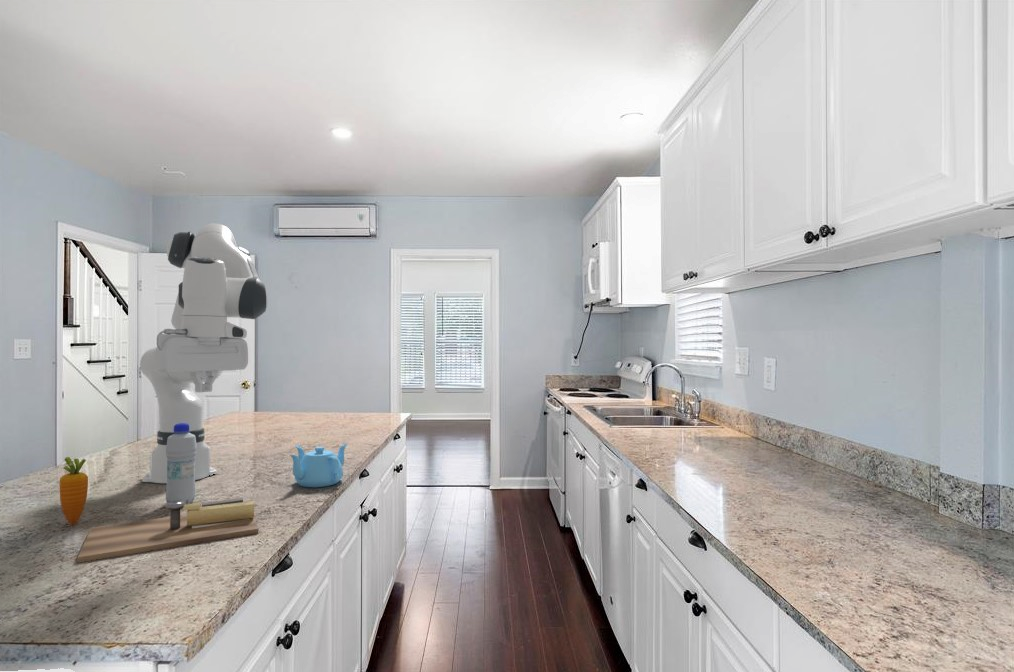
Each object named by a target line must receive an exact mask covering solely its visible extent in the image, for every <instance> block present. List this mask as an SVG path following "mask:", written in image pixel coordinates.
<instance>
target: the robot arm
mask: <svg viewBox="0 0 1014 672" xmlns="http://www.w3.org/2000/svg"><path fill="white" fill-rule="evenodd" d="M166 256H167V260H168V262H169V263H170V264H171V265H173V266H174V267H177V268H179V269H184V270H183V275H182V276H183V278H182V281H181V282H180V283H178V293H177V296H176V299H175V303H174V304H175V305H174V309H173V312H172V315H171V320H170V321H171V326H173V328H174V329H173V328H164V329H163V330H162V331H160V332H159V333H158V334H157V336H156V347H153V348H149V349H148V350H146V351H145V352H144V353H143V354H142V356H141V357H140V362H139V365H140V366H139V367H140V371H141V372H142V374H143V375H144V376H145V377H146V378H147V379H148V380H149V381H150V383H151V385H152V387H153V390H154V393H155V395H156V399H157V403H158V417H159V418H158V420H159V421H158V422H159V423H158V427H159V428H158V431H157V432H156V443H157V446H156V447H155V448H154V449H153V450H152V451H151V452H150V455H149V456H150V457H149V459H150V460H149V461H150V465H149V472H148V473H146V475H144V476H143V477H142V478H141V482H142V483H153V484H154V483H155V484H167V457H166V445H167V439H168V437H169V436H171V435H173V434H175V433H174V426H175V425H176V424H179V423H187V424H189V433H191V434H193V435H195V437H196V444H197V450H196V452H197V453H196V455H195V481H197V480H201V479H204V478H206V477H209V475H210V476H214V475H213V474H215V475H217V474H218V470H217V469H215V468H214V467H212V466H211V448H210V446H209V445H208V444H207V443H205V441H204V440H205V438H206V437H205V436H206V432H205V428H204V403H203V401H202V399H201V398H200V397H199V396H198V395H197V394H196V393H207V392H210V393H211V392H212V391H213V384H214V382H215V381H216V379H218V378H219V377H220V376H221V375H222V374H223V371H237V370H239V371H240V370H242V371H243V370H245V369H246V368H247V367H248V364H249V347H248V343H247V341H246V340H245V338H247V335H248V331H247V330H246V329H245V328H243V327H241V326H238V325H236V324H234V323H231V322H229V321H228V318H238V319H239V318H240V319H247V320H255V319H257V318H259V317H260V316H262V315H263V314H264V313H266V310H267V308H268V303H269V297H268V290H267V288H266V285H265V283H264V282H263V281H262V280H261V278H260V276H259V273H258V271H257V269H256V267H255V264H254V262H253V260H252V258H251V254H250V252H249V250H247V249H245V248H243V247H242V246H239V245H237V241H236V237H235V236H234V234H233V232H232V230H231V229H230V228H228V227H227V226H226V225H224V224H222V223H216V222H215V223H214V222H212V223H207V224H205V225H203V226H202V227H201V228H200V229H199V230H198V231H197V233H196V234H195V233H193V232H191V231H185V232H184V231H180V232H177V233H174V234H173V236H172V237H171V238H170V239H169V240H168V243H167V246H166ZM192 384H194V390H193V387H192ZM194 391H195V392H194Z"/></svg>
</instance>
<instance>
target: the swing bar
mask: <svg viewBox="0 0 1014 672" xmlns="http://www.w3.org/2000/svg"><path fill="white" fill-rule="evenodd" d="M178 509H180V510H182V511H186V515H187V526H190V525H199V524H207V523H215V522H223V521H231V520H239V519H247V518H254V519H255V501H254V500H252V501H243V502H241V503H232V504H223V505H214V506H205V507H202V502H201V501H200V502H193V503H192V502H191V503H190V504H186V501H184V500H177V501H171V502H168V503H167V502H166V503H165V510H166V511H170V510H178Z"/></svg>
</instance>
